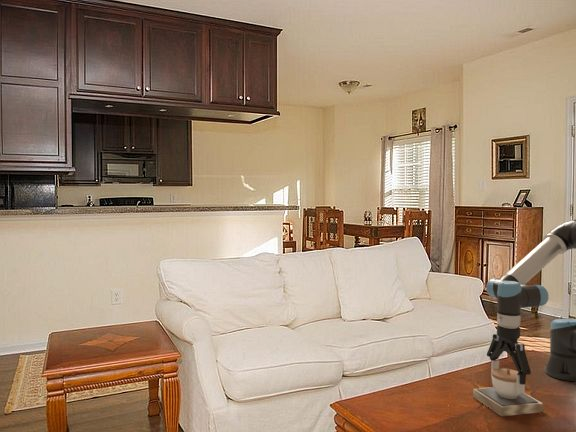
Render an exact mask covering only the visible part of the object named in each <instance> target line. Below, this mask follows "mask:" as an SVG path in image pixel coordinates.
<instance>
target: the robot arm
mask: <svg viewBox="0 0 576 432" xmlns="http://www.w3.org/2000/svg"><path fill="white" fill-rule="evenodd" d="M572 249H573V250H575V249H576V219H572V220H567V221H565V222H563V223H561V224H559V225H557V226H555V227H554V228H553V229H551V230H550V231H549V232H548V233H546V234H545V235H544V236H543V239H542V241H541V242H540V243H539V244H537V246H535V247H534V248H533V249H532V250H531V251H529V252H528V253H527V254H526V255H525V256H524V257H523V258H522V259H520V260H519V261H518V262H517V263H516V264H515V265H514V266H513V267H511V268H510V269H509V270H508V271H507V272H506V273H504V274H503V276H501V277H499V278H498V277H497V278H496V277H493V278H491V279H489V280H488V282H486V287H485V290H486V292H487V294H488V296H489V297H491V298H494V299H496V303H497V306H496V310H497V311H496V315H497V316H496V323H497V325H496V333H495V334H494V333H493V334H492V340H491V342H490V345H489V347H488V350H487V353H486V356H487V357H489V359H490V368H491V369H490V378H491V379H492V371H493V370H494V369H500V359H499V358H500V357H501V355H502V353H504V352H506V353H507V354H508V355H509V356H510V357H511V359H512V362H513V364H514V367H515V370H516V371H518V373H517V380H516V393H525V389H526V383H527V382H526V381H527V376H528V375H531V374H532V371H531V368H530V365H529V361H528V357H527V354H526V348H525V346H526V345H525V344H524V343H520V344H519V342H518V340H519V339H520V338H521V327H520V326H521V324H522V323H521V315H522V314H521V313H522V312H521V311H522V309H524V308H525V309H526V308H537V307H541V306H545V305H546V304H547V303H548V301H549V292H548V290H547V289H546V287H545V286H543V285H540V284H533V285H531V284H529V285H528V284H527V283H528V282H529V281H530V280H532V278H533V277H535V276H536V275H537V274H538V273H540V272H541V270H543V269H544V268H545V267H546V266H548V264H549V263H551V262H552V261H553V260H554V259H555V258H556V257H557V256H558V255H563V254H565V253H566V252H567V251H569V250H572ZM549 329H550V331H549V332H550V334H549V335H550V337H549V338H550V340H549V343H550V345H549V346H550V347H549V349H550V350H549V356H548V359H547V362H546V364H545V366H544V372H545V374H546V375H548V376H550V377H552V378H555V379H558V380H562V381H568V382H576V318H556V319H554V320H552V321H551V322H550V328H549ZM525 394H526V393H525Z"/></svg>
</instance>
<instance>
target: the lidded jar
mask: <svg viewBox="0 0 576 432" xmlns="http://www.w3.org/2000/svg"><path fill="white" fill-rule="evenodd" d="M517 373H518V371H517V370H516V369H515V370H514V369H510V368H499V369H494V370H493V371H492V378H491V383H492V387H494V389H495V390H496V392H497V393H498V394H499V395H500V396H501V397H504V398H508V399H515V398H517V396H519V395H520V394H521V393H516V380H517Z"/></svg>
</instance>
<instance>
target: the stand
mask: <svg viewBox="0 0 576 432" xmlns="http://www.w3.org/2000/svg"><path fill="white" fill-rule="evenodd" d="M472 398H474V399H475V400H476V401H479V402H480V403H481V404H482V403H483V405H484V406H485V405H486V407H487V408H488V407H489V408H488V409H490V410H491V409H492V410H491V411H492V412H495V413H496V414H497V415H499V416H500V417H508V416H518V415H525V414H526V415H527V414H536V413H543V408H544V405H543V404H544V403H543V402H542V401H539V400H537V399H536V398H534V397H532V396H531V395H529V394H527V393H521V394H520V395H519V396H517V398H515V399H508V398H504V397H501V396H500V395H499V394H498V393H497V392H496V390H495V389H494V387H493V386H492V387H491V386H490V387H489V386H488V387H481V388H473V389H472Z"/></svg>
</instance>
